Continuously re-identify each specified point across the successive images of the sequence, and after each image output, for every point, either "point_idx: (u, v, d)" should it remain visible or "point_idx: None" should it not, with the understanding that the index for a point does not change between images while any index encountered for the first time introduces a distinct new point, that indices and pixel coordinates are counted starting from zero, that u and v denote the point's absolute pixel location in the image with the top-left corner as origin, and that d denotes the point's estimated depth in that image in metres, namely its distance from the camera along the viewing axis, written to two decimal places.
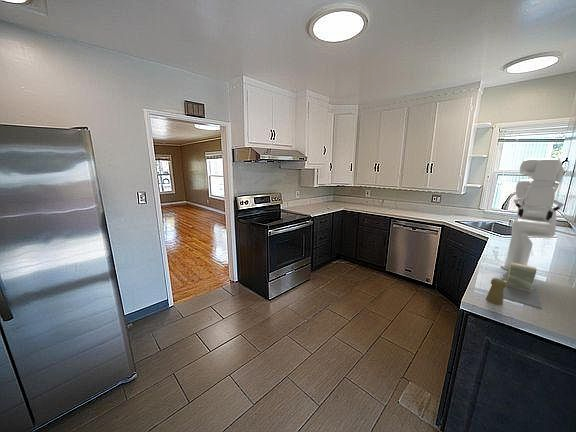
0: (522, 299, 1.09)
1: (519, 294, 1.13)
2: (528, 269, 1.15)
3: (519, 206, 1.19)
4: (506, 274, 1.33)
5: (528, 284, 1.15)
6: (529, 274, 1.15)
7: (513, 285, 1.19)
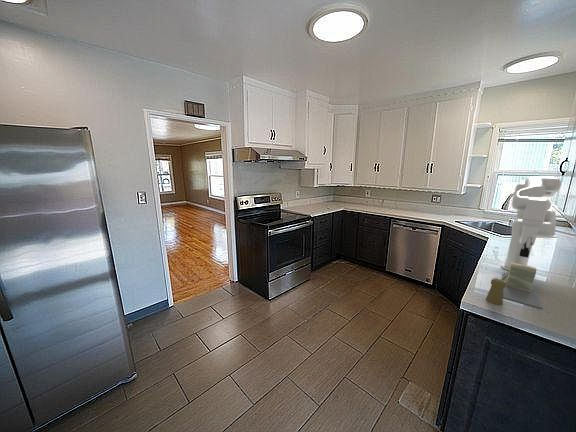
0: (522, 299, 1.09)
1: (519, 294, 1.13)
2: (528, 269, 1.15)
3: (528, 249, 1.19)
4: (505, 274, 1.34)
5: (528, 284, 1.15)
6: (529, 274, 1.15)
7: (513, 285, 1.19)
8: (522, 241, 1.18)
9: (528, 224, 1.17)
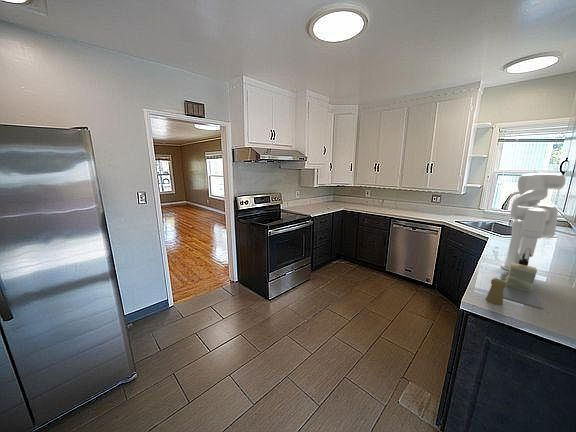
0: (522, 299, 1.09)
1: (519, 294, 1.13)
2: (528, 270, 1.14)
3: (526, 260, 1.16)
4: (505, 274, 1.34)
5: (528, 285, 1.15)
6: (529, 275, 1.14)
7: (513, 285, 1.19)
8: (521, 252, 1.15)
9: (527, 235, 1.14)
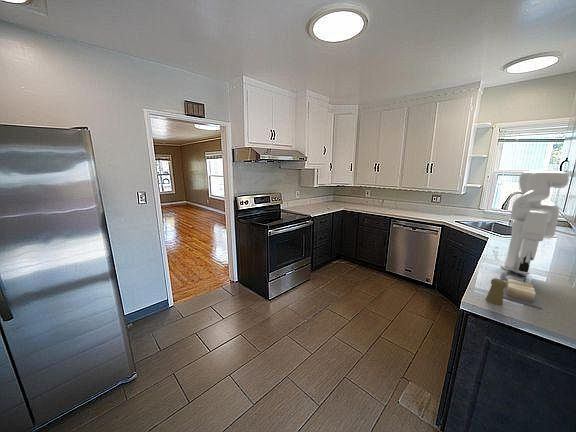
0: (522, 299, 1.09)
1: None
2: None
3: (527, 264, 1.12)
4: (504, 273, 1.34)
5: None
6: None
7: None
8: (521, 255, 1.11)
9: (528, 238, 1.10)
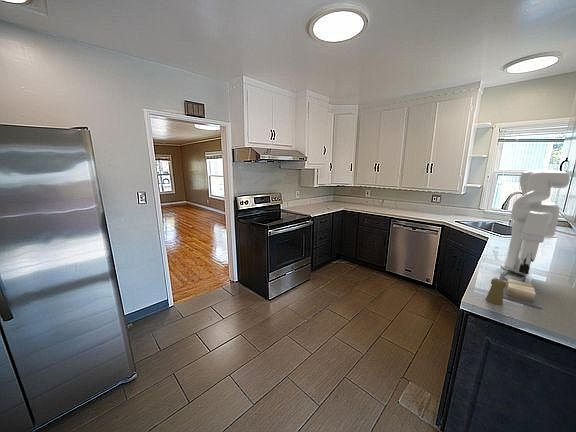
0: (522, 299, 1.09)
1: None
2: None
3: (528, 265, 1.11)
4: (504, 273, 1.34)
5: None
6: None
7: None
8: (522, 257, 1.10)
9: (528, 239, 1.09)
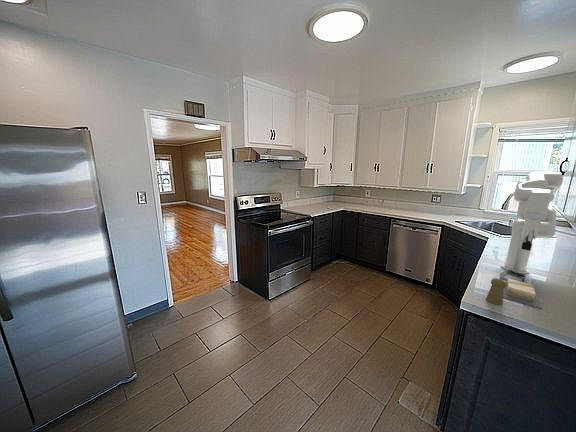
0: (522, 299, 1.09)
1: None
2: None
3: (530, 242, 1.18)
4: (504, 273, 1.34)
5: None
6: None
7: None
8: (524, 234, 1.16)
9: (530, 217, 1.15)
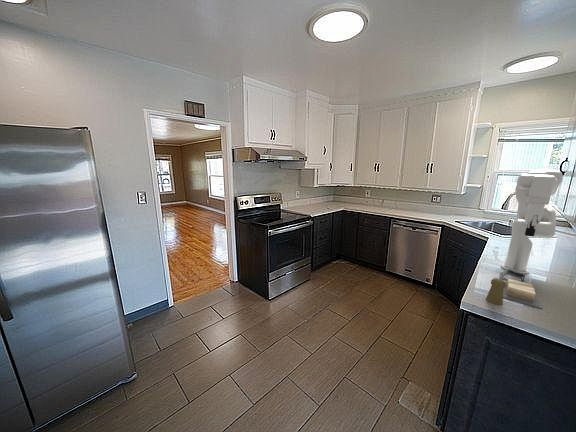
0: (522, 299, 1.09)
1: None
2: None
3: (533, 228, 1.16)
4: (503, 273, 1.35)
5: None
6: None
7: None
8: (528, 219, 1.15)
9: (534, 202, 1.14)
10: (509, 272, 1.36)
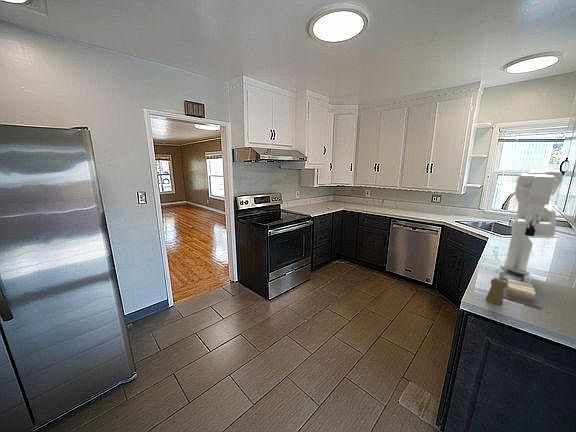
0: (522, 299, 1.09)
1: None
2: None
3: (533, 228, 1.16)
4: (503, 273, 1.35)
5: None
6: None
7: None
8: (528, 219, 1.15)
9: (534, 202, 1.14)
10: (509, 272, 1.36)
